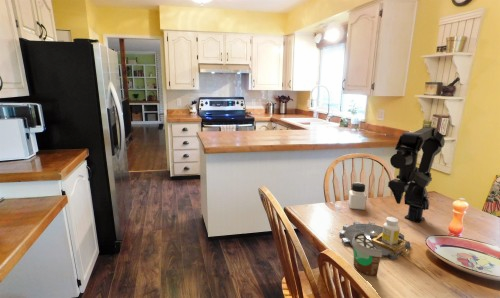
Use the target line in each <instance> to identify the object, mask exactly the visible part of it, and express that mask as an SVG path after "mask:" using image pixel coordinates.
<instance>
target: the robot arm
mask: <svg viewBox="0 0 500 298" xmlns="http://www.w3.org/2000/svg"><path fill="white" fill-rule="evenodd" d="M445 143H446V140H445V136H444V135H443V134H442V133H441V132H440V131H438V129H437V127H433V126H423V127H422V128H420V129H417V130H416V131H414V132H412V131H411V132H410V131H404V132H402V134H401V135H400V136H399V139H398V141H397V143H396V146H395V148H394V149H395V151H396V153H394V154H393V155H392V156H391V157H390V161H389V162H390V164H391V166H392V167H393V168H394V169H397V170H398V175H396V178H393V179H391V180H390V181H388V182H387V187H388V188H389V189H390V190H391V192H392V194H393V197H394V199H395V203H396V204H398V205H400V204H401V202H402V199H403V195H404V200H403V201H404V205H407V206H408V210H407V214H406V215H405V216H404V217H403V218H404V219H407V220H410V221H413V222H416V223H422V222H423V221H424V220H425V219H426V217H423V214H424V211H425V210H426V211H427V210H429V208H430V200H429V198H428V196H429V195H428V190H427V187H428V186H429V185H430V183H431V182H432V180H433V177H432V173H431V170H432V167H433V163H434V159H435V156H437V155H438V154H440V153H441V152H442V148H443V147H444V146H445ZM421 150H422V155H421V159H420V163H419V165H418V166H417V163H418V156H419V155H418V154H419V152H421Z"/></svg>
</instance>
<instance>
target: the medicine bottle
mask: <svg viewBox="0 0 500 298" xmlns="http://www.w3.org/2000/svg"><path fill="white" fill-rule="evenodd" d="M365 190H366V184H365V183H362V182H352V185H351V190H349V192H348V206H349V209H351V210H352V209H354V210H362V211H363V210H365V211H366V207H367V197H368V196H367V195H366V193H365V192H366V191H365Z"/></svg>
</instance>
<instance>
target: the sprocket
mask: <svg viewBox="0 0 500 298" xmlns="http://www.w3.org/2000/svg"><path fill="white" fill-rule="evenodd" d="M359 232H364V235H365V236H366V237H367V238H368V239H369V240H370V241H372V243H373V244H374V245H375V247H376V248H377V249H378V250H382V257H381V258H389V260H392V261H394V260H398V259H399V256H401V255H402V256H404V257H407V256H408V255H409V254H410V248H411V242H410V241H407V240H405V235H404V234H403V233H401V232H399V237H398V245H397V246H395V247H391V246H389V245H386V244H384V243H382V234H383V226H380V225H377V224H375V223H374V222H368V223H361V222H359V221H354V222H353V224H350V225H349V224H344V225H343V226H342V229H341V230H339V237H342V238H341V243H342V244H343V245H344V246H350V247H351V248H352V251H353V252H354V246H353V245H352V240H353V237H354V236H355V234H356V233H359Z"/></svg>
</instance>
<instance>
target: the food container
mask: <svg viewBox="0 0 500 298" xmlns="http://www.w3.org/2000/svg"><path fill="white" fill-rule="evenodd" d="M352 245H353V246H354V251H353V267H354V269H355V270H356V271H357V272H359V273H360V274H362V275H364V276H368V277H374V278H375V277H378V272H379V268H380V267H379V266H380V262H381V258H383V257H382V250H378V249H377V248H376V247H375V245H374V244H373V243H372V241H370V240H369V239H368V238H367V237H366V236H365V235H364V232H359V233H356V234H355V236H354V237H353V240H352Z"/></svg>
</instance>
